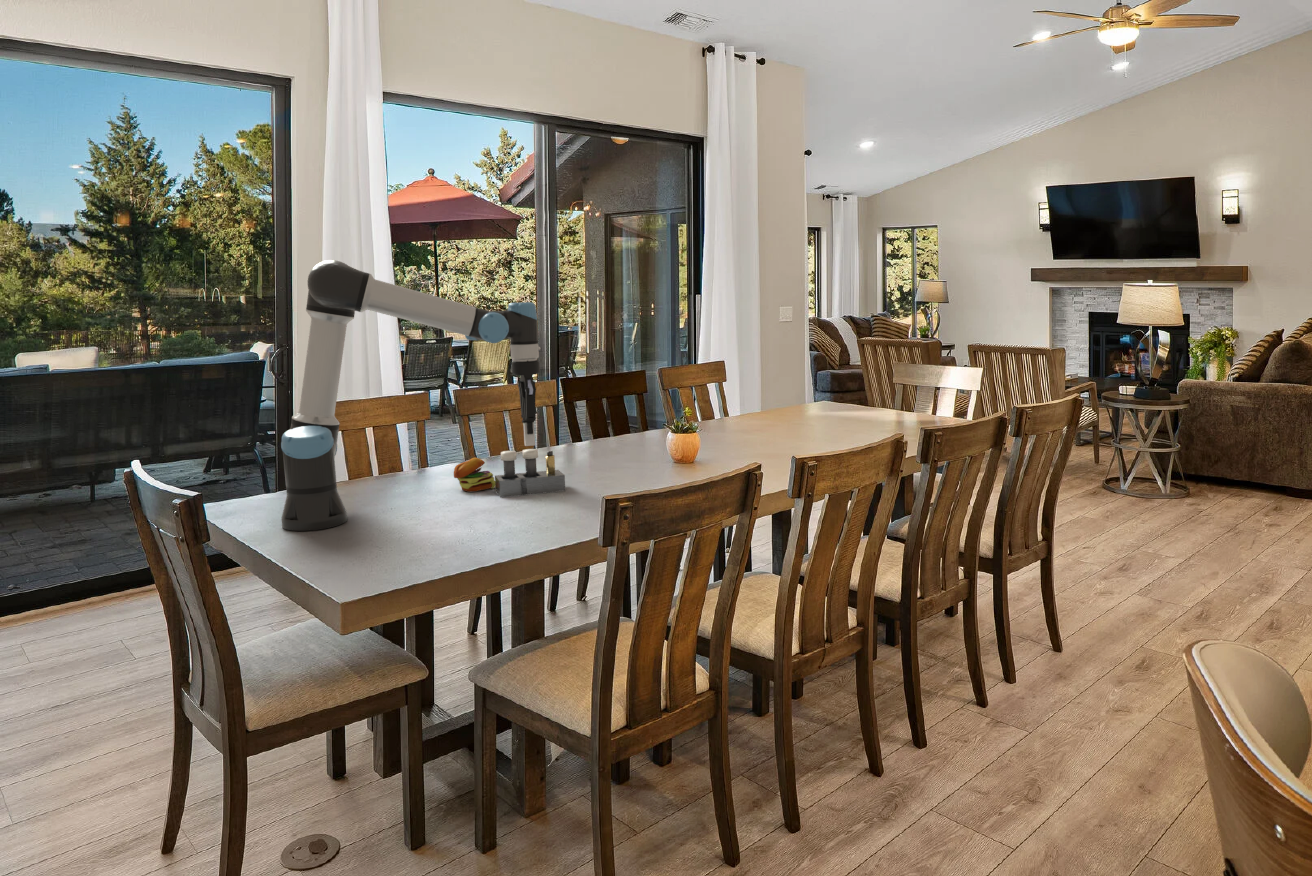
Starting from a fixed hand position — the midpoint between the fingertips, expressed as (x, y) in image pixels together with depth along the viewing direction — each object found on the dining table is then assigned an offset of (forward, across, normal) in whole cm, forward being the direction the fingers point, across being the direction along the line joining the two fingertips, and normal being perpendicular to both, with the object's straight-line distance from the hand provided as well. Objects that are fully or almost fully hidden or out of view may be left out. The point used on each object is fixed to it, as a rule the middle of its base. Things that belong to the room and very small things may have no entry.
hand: (529, 445), depth 254 cm
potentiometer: (+8, 0, -6) cm, 10 cm away
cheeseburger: (+13, +10, +14) cm, 22 cm away
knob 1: (+8, 0, +6) cm, 10 cm away
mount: (+13, 0, +1) cm, 13 cm away
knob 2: (+8, 0, 0) cm, 8 cm away
